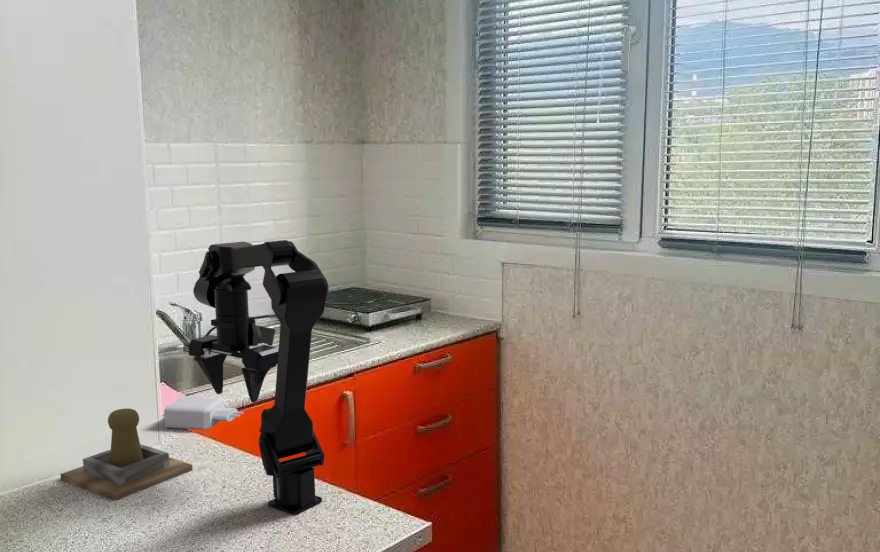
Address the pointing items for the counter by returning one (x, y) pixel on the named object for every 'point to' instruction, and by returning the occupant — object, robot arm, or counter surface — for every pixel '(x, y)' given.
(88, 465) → the socket base
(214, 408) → the charger
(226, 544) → the counter surface
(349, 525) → the counter surface
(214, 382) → the robot arm
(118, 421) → the cork
